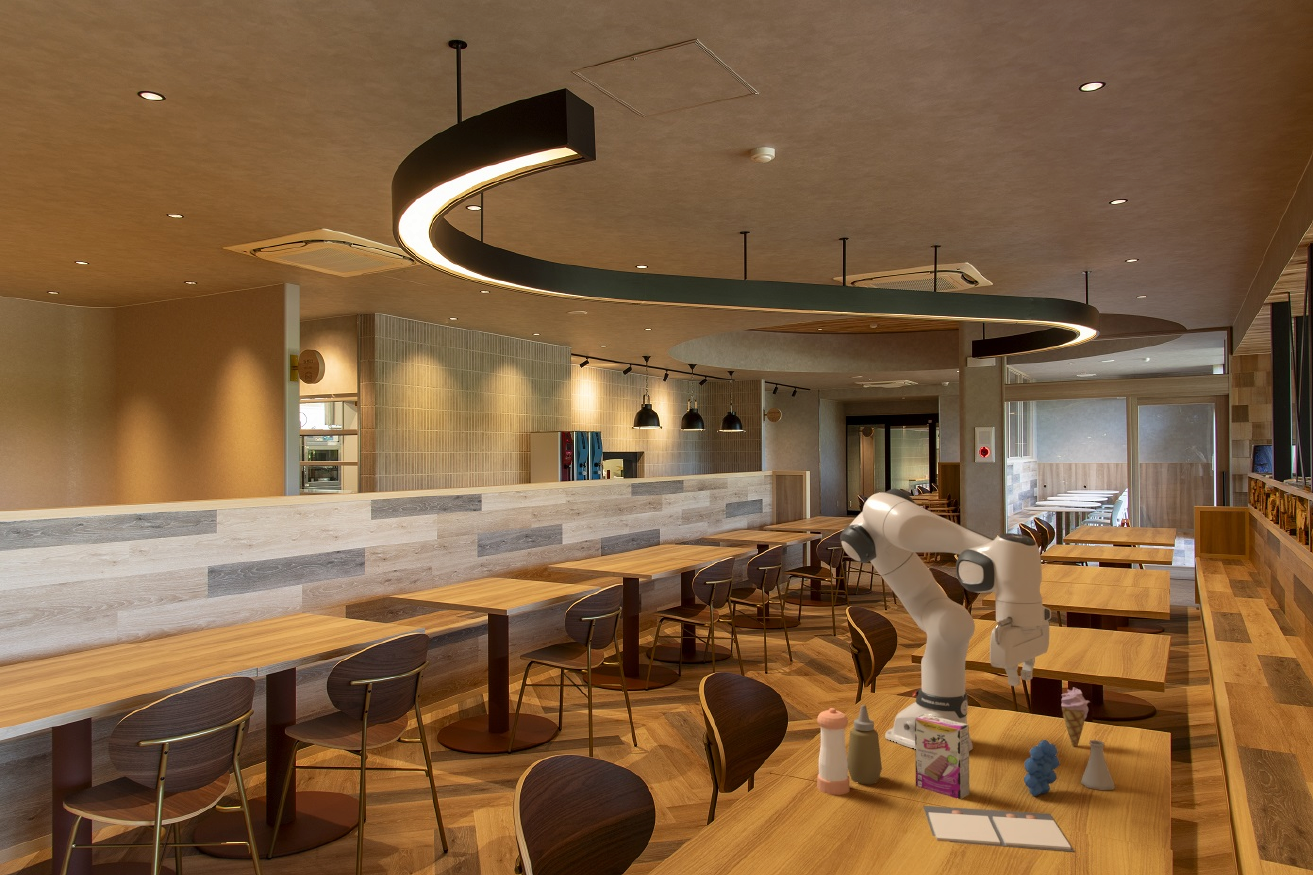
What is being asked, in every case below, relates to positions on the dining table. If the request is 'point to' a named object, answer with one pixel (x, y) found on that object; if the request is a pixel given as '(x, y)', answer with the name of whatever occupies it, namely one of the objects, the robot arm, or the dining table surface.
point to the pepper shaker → (833, 753)
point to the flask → (1097, 769)
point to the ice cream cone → (1074, 713)
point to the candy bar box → (942, 755)
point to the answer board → (996, 828)
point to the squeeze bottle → (864, 750)
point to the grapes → (1041, 768)
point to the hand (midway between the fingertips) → (1020, 682)
